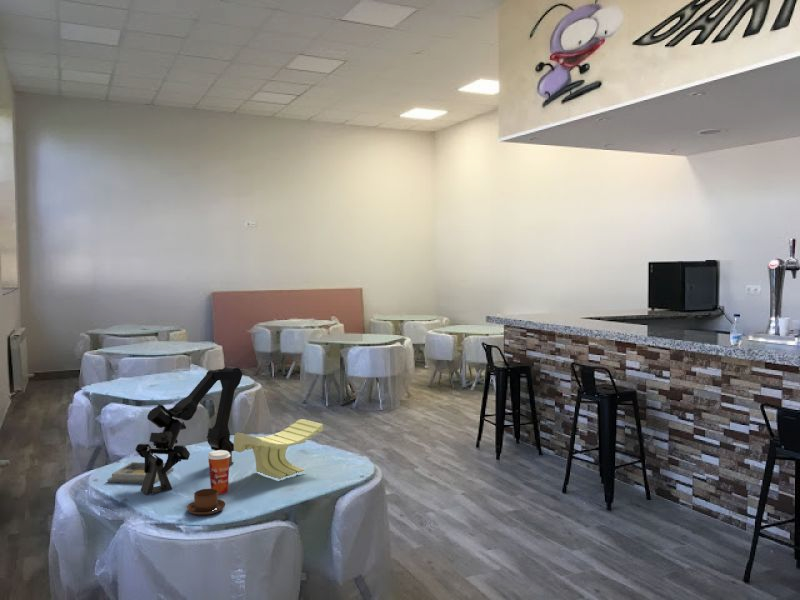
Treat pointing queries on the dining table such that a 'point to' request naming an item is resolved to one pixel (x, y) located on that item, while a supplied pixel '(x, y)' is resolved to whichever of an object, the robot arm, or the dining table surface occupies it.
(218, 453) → the paper cup
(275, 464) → the slatted curved stool
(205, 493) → the cup and saucer
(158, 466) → the phone stand
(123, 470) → the square tray
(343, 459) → the dining table surface
